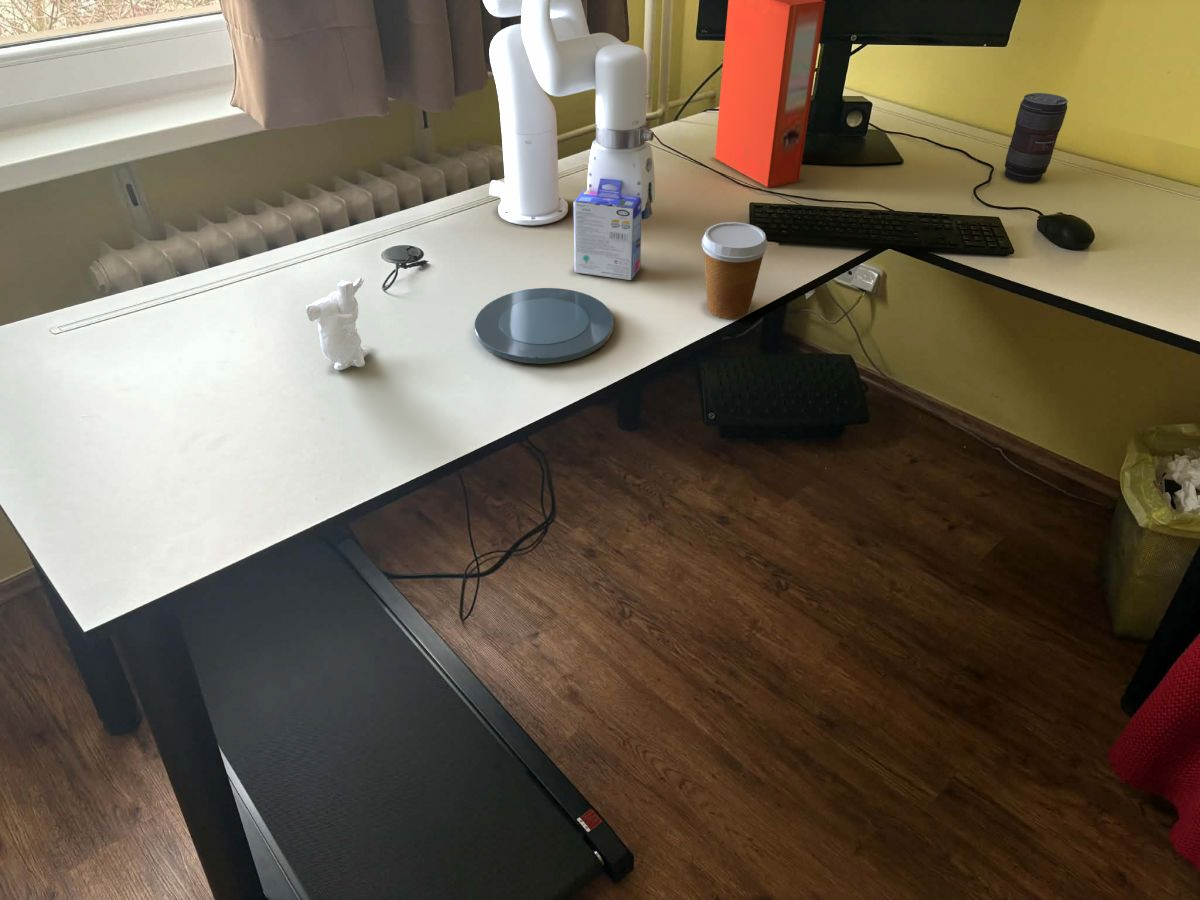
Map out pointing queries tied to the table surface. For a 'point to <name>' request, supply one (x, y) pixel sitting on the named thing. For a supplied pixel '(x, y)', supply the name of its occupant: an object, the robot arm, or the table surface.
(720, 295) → the disposable coffee cup
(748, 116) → the file binder
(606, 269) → the ink cartridge box
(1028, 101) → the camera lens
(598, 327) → the plate
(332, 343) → the white upright lumpy figure
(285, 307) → the table surface
